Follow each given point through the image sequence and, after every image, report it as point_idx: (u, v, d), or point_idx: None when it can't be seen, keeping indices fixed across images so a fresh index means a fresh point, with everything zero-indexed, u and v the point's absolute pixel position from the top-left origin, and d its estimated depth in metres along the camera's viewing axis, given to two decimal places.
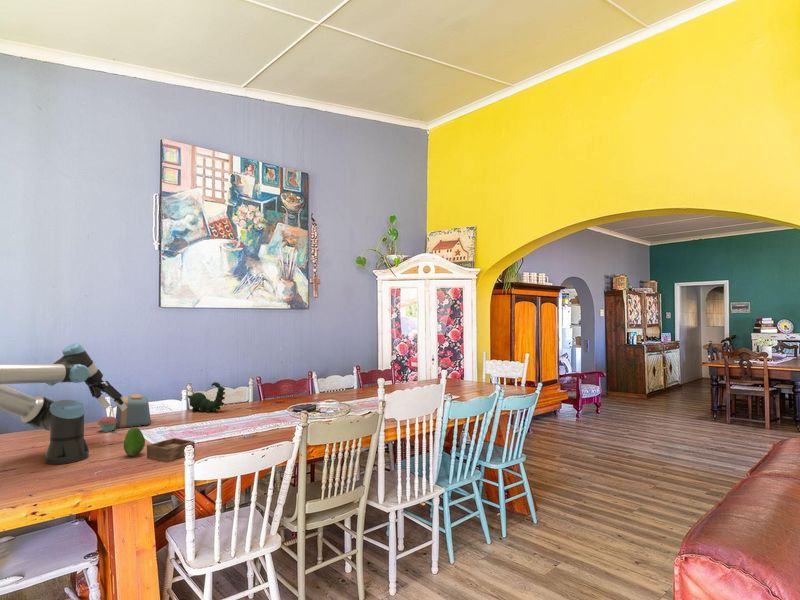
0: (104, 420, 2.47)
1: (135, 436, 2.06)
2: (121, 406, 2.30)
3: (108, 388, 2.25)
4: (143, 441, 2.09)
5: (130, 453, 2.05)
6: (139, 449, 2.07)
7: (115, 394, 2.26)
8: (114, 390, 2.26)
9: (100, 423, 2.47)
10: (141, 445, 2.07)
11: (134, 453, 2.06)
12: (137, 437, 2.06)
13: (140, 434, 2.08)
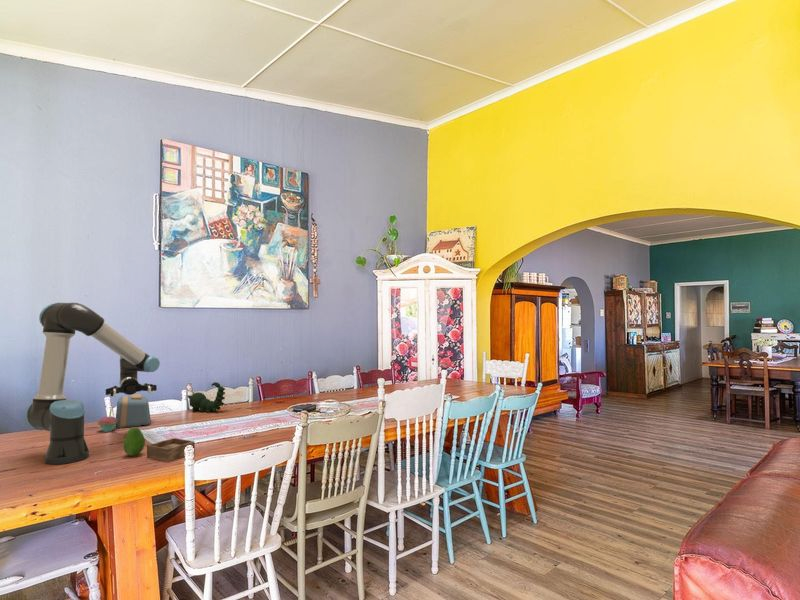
0: (104, 420, 2.47)
1: (135, 436, 2.06)
2: (150, 388, 2.23)
3: None
4: (143, 441, 2.09)
5: (130, 453, 2.05)
6: (139, 449, 2.07)
7: None
8: None
9: (100, 423, 2.47)
10: (141, 445, 2.07)
11: (134, 453, 2.06)
12: (137, 437, 2.06)
13: (140, 434, 2.08)
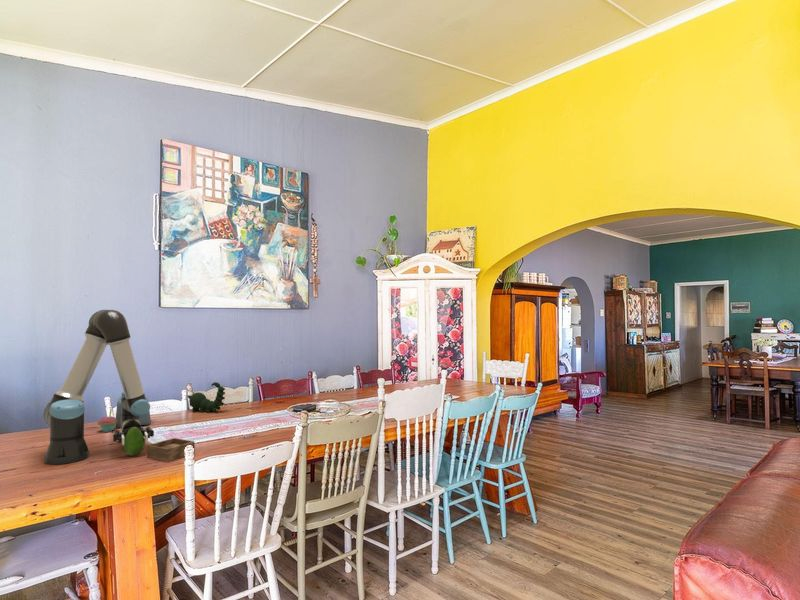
0: (104, 420, 2.47)
1: (135, 436, 2.06)
2: None
3: None
4: (143, 441, 2.09)
5: (130, 453, 2.05)
6: (139, 449, 2.07)
7: None
8: None
9: (100, 423, 2.47)
10: (141, 445, 2.07)
11: (134, 453, 2.06)
12: (136, 437, 2.06)
13: (140, 434, 2.08)
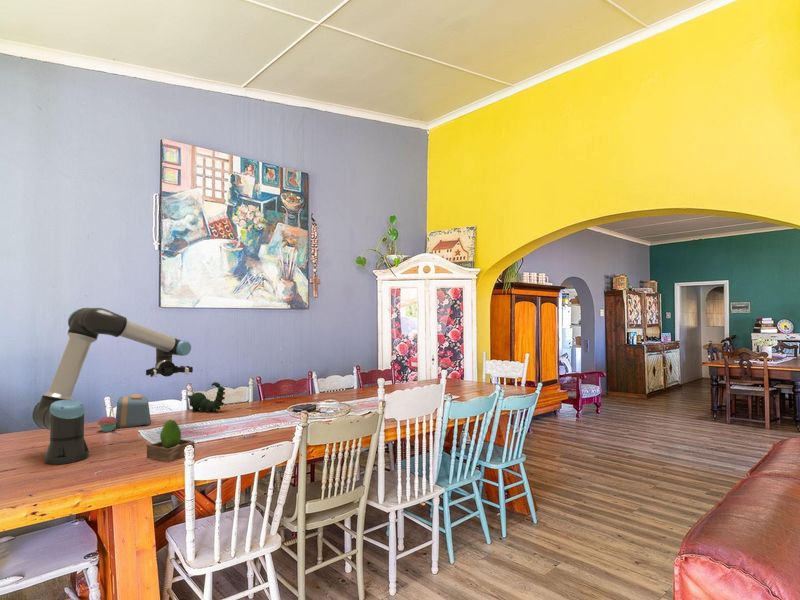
0: (104, 420, 2.47)
1: (172, 428, 2.05)
2: None
3: None
4: (180, 434, 2.08)
5: (167, 446, 2.05)
6: (176, 442, 2.06)
7: None
8: None
9: (100, 423, 2.47)
10: (178, 438, 2.07)
11: (171, 446, 2.05)
12: (173, 429, 2.06)
13: (177, 427, 2.08)
